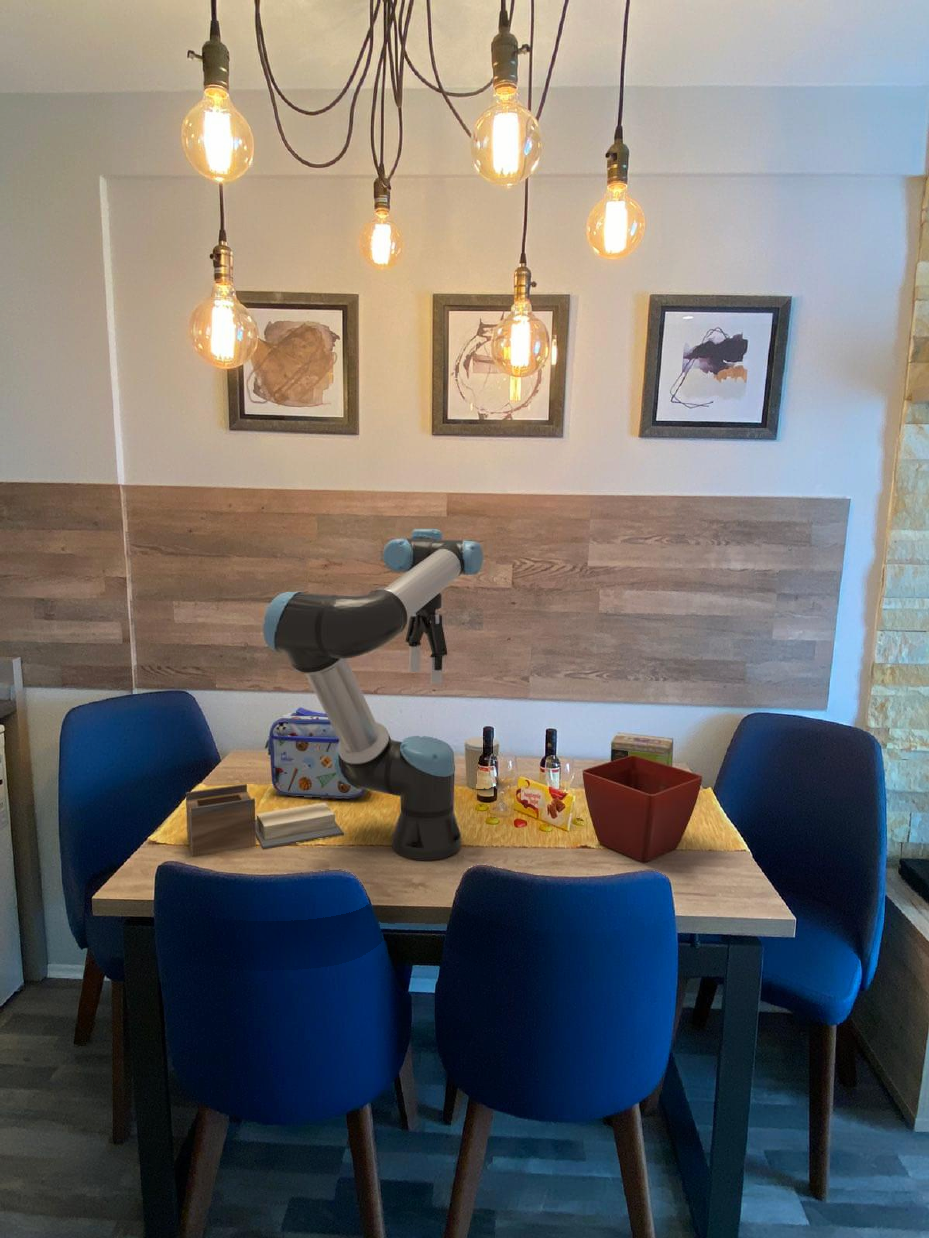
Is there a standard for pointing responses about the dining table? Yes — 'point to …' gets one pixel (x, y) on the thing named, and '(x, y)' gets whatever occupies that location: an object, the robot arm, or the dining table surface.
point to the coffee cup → (475, 758)
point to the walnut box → (220, 819)
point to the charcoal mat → (297, 836)
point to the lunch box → (306, 757)
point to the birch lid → (295, 820)
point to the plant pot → (640, 805)
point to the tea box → (642, 747)
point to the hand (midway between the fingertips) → (425, 677)
